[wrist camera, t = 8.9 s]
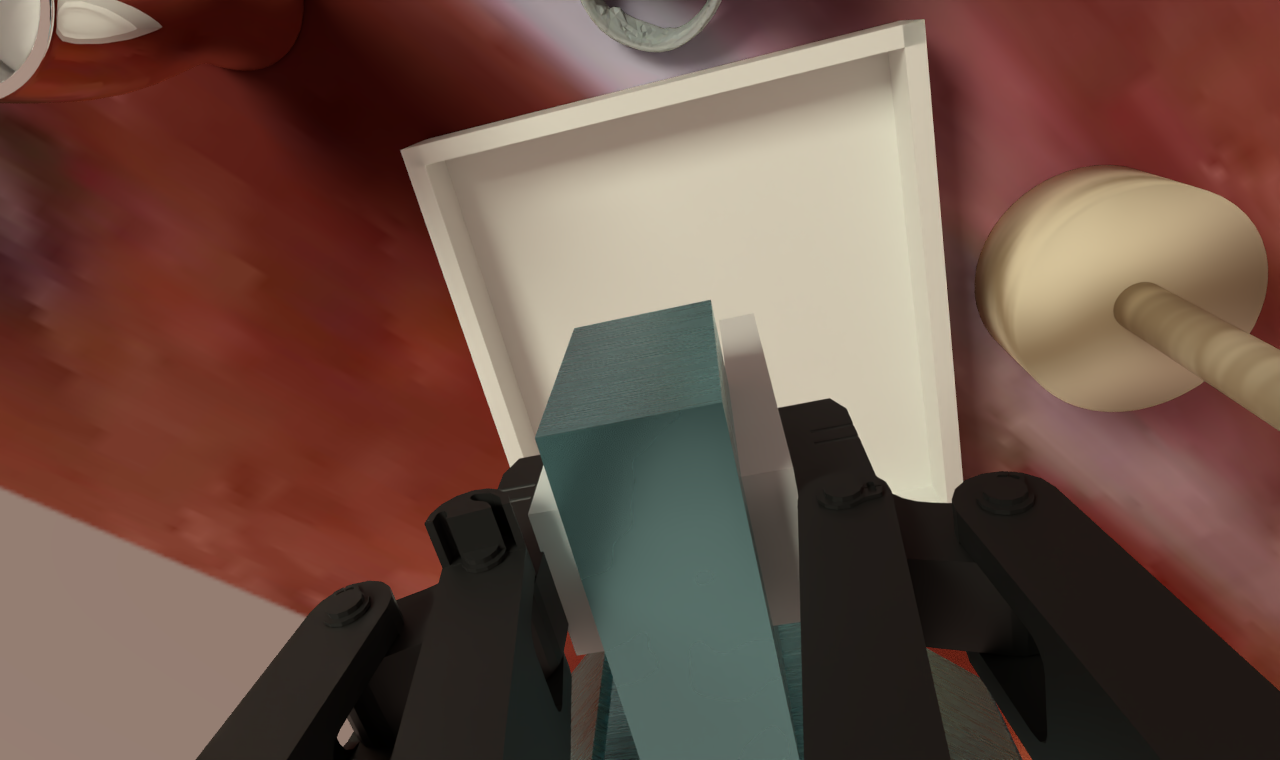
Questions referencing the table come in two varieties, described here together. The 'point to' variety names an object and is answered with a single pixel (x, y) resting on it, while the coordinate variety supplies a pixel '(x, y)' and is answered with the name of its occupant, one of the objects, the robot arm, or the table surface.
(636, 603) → the ring
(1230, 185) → the table surface
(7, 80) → the beer glass
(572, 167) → the tray
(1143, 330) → the wooden peg stand
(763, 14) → the table surface
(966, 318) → the table surface
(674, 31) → the ceramic mug
